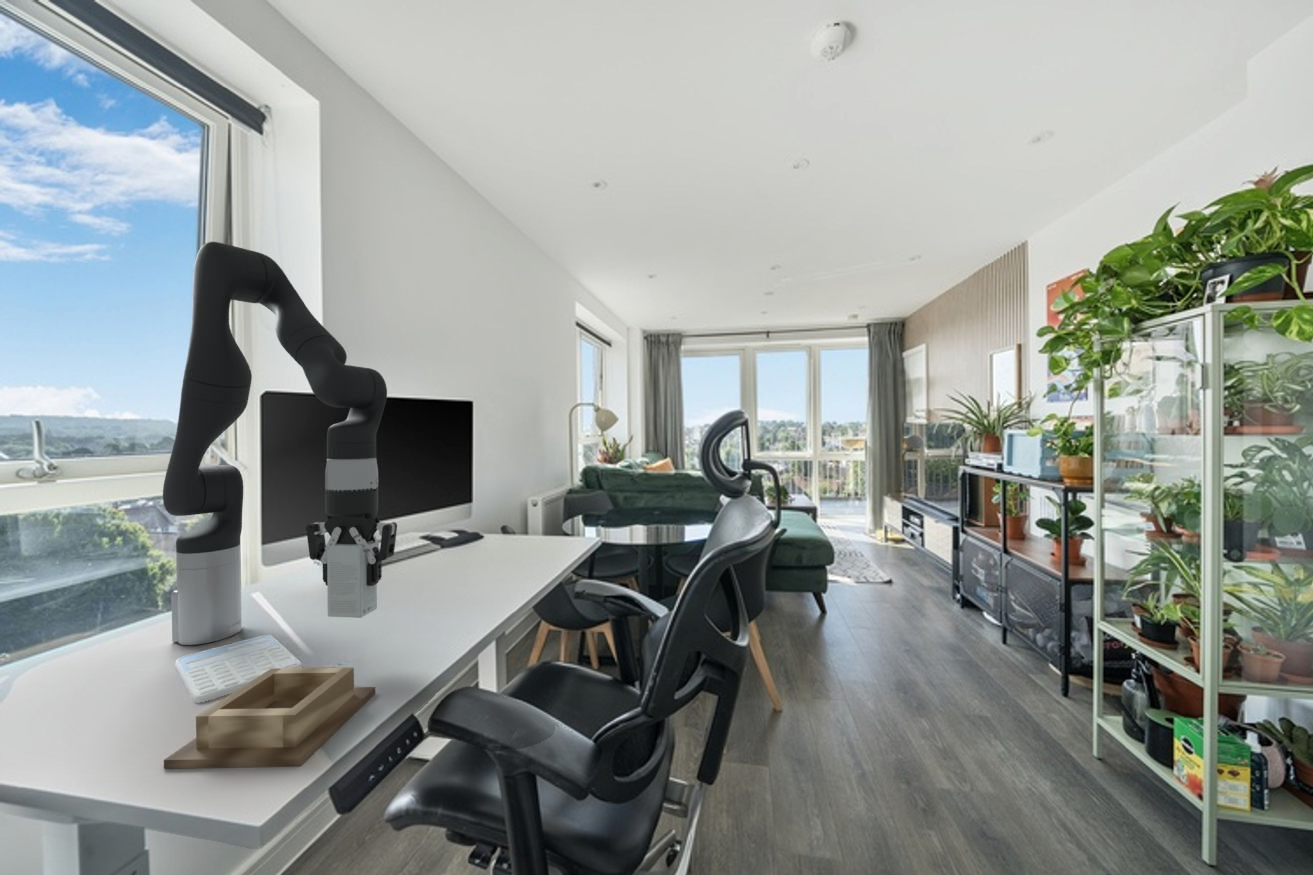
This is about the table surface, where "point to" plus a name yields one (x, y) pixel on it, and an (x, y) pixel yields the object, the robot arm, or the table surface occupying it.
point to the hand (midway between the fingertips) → (352, 584)
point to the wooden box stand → (273, 719)
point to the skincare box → (349, 582)
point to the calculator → (231, 666)
